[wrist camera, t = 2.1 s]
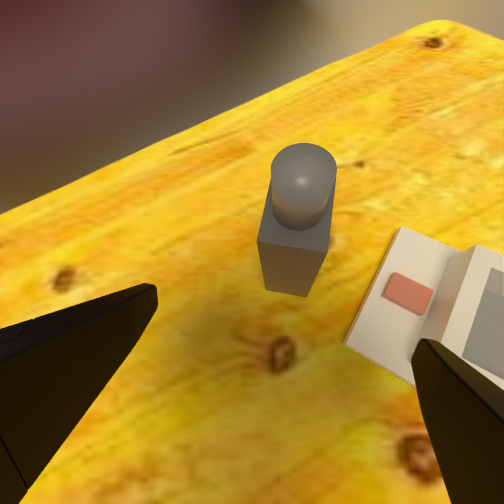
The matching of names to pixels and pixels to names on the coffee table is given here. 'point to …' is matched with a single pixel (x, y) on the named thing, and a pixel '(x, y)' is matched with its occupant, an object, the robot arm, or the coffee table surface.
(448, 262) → the socket board
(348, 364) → the coffee table surface
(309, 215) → the plug
